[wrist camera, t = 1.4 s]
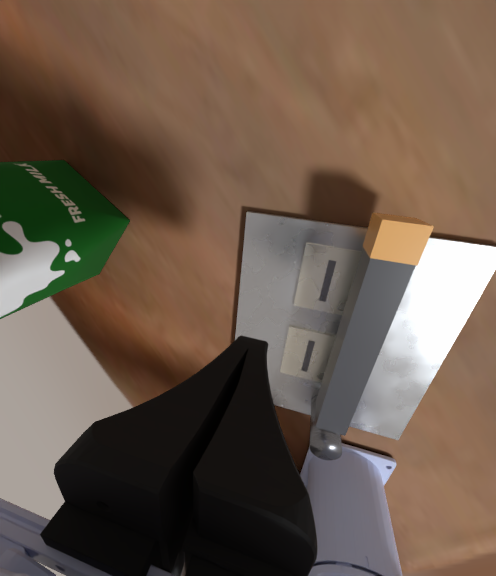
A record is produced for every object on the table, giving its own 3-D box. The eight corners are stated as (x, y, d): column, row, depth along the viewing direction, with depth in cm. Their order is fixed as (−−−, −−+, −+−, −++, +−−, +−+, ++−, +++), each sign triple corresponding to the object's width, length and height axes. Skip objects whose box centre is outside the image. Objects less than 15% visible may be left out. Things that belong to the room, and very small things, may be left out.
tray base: (396, 433, 23) (414, 495, 19) (232, 388, 26) (214, 431, 22) (500, 246, 15) (573, 275, 11) (248, 210, 18) (226, 222, 14)
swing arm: (342, 408, 21) (345, 436, 19) (315, 401, 21) (314, 427, 19) (415, 217, 14) (433, 226, 12) (372, 212, 14) (382, 219, 12)
